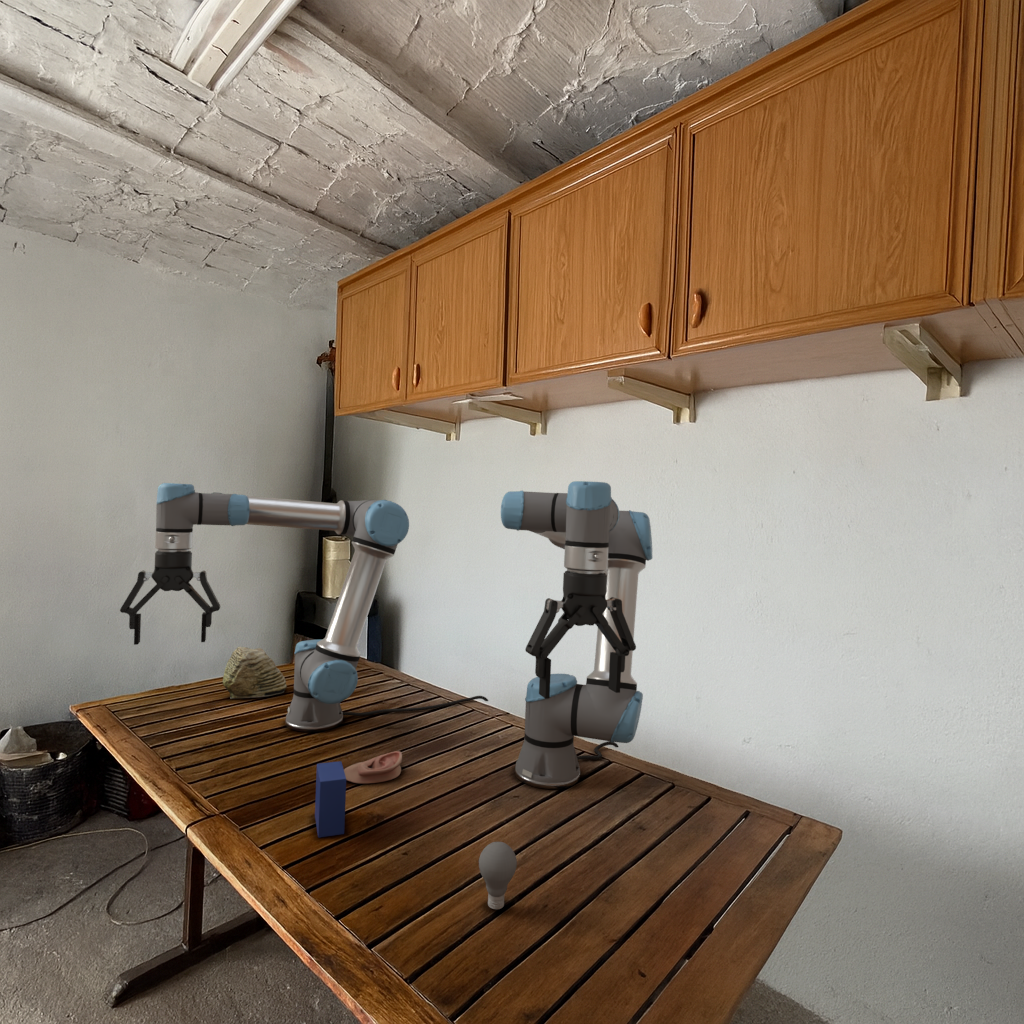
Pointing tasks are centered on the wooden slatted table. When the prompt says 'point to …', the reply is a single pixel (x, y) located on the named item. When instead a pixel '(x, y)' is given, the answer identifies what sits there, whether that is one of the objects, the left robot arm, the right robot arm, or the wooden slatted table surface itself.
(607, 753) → the wooden slatted table surface
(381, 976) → the wooden slatted table surface
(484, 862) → the light bulb
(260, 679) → the fossil
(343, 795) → the block
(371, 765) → the anatomical model
